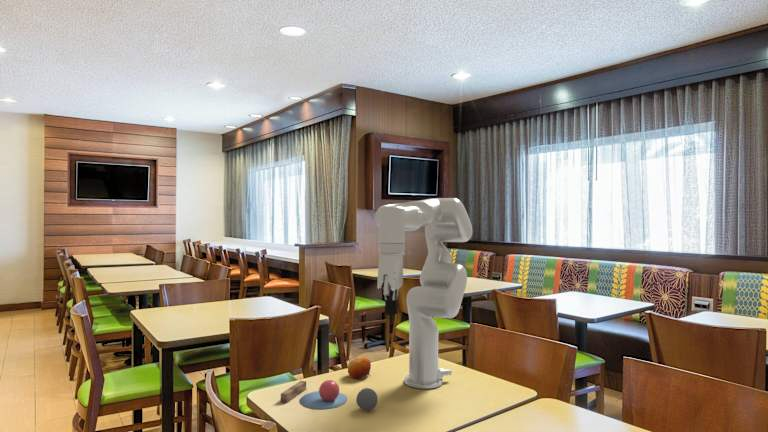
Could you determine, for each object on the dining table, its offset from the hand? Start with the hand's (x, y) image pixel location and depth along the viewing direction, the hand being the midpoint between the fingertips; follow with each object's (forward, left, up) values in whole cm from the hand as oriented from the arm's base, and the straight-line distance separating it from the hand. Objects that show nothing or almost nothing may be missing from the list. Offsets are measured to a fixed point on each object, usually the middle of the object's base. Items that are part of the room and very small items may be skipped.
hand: (391, 313), depth 138 cm
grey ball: (+6, -2, -24) cm, 25 cm away
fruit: (0, -30, -27) cm, 40 cm away
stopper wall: (+24, -20, -27) cm, 41 cm away
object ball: (+15, -12, -24) cm, 31 cm away
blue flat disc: (+16, -14, -27) cm, 34 cm away
